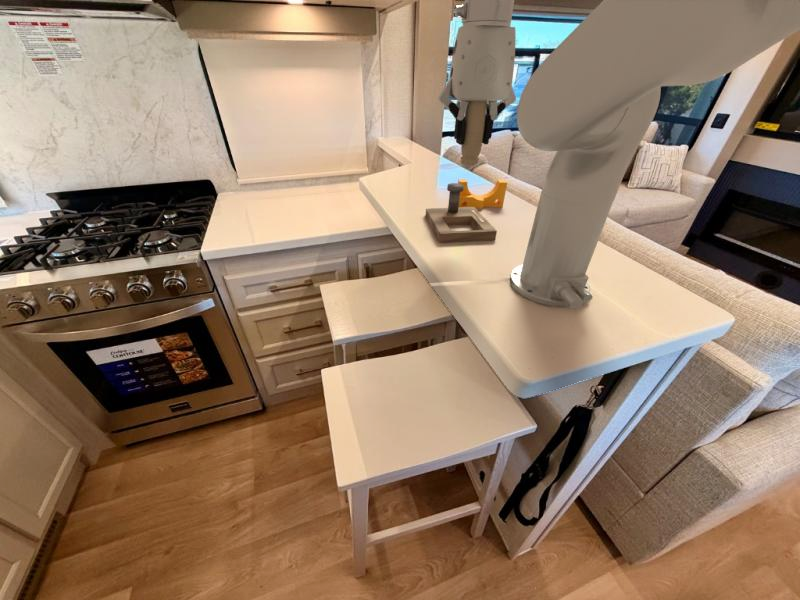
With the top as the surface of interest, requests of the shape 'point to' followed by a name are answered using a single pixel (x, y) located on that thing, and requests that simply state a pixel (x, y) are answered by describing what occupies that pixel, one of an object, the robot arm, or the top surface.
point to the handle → (473, 132)
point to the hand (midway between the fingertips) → (471, 142)
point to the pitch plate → (459, 220)
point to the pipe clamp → (483, 196)
